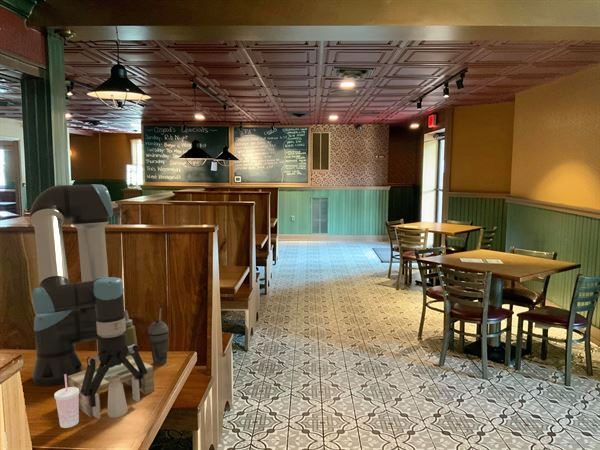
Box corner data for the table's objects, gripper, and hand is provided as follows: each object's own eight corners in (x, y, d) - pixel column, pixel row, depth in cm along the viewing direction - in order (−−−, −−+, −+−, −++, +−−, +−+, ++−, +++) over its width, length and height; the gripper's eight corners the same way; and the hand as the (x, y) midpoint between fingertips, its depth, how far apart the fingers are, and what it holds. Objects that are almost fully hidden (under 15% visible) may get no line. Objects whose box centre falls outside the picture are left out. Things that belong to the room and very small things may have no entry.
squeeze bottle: (130, 363, 164) (129, 314, 163) (109, 361, 166) (108, 313, 165) (142, 355, 172) (141, 308, 171) (122, 354, 174) (121, 307, 173)
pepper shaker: (106, 419, 127) (103, 381, 126) (108, 410, 132) (105, 373, 131) (127, 416, 128) (124, 378, 127) (128, 407, 134) (125, 370, 132)
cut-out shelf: (69, 401, 138) (67, 376, 137) (132, 378, 153) (130, 355, 152) (90, 417, 129) (88, 389, 128) (154, 390, 143) (152, 366, 142)
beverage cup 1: (85, 422, 126) (81, 373, 124) (62, 432, 121) (57, 381, 120) (76, 415, 130) (72, 367, 128) (53, 424, 125) (48, 375, 124)
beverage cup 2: (149, 360, 167) (146, 307, 165) (170, 357, 169) (167, 305, 167) (149, 368, 160) (145, 313, 158) (171, 365, 163) (167, 310, 160)
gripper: (74, 349, 117) (80, 430, 119) (156, 325, 134) (161, 396, 136) (62, 342, 122) (68, 420, 124) (143, 320, 139) (147, 389, 141)
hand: (117, 407), depth 130 cm, fingers open, 11 cm apart
